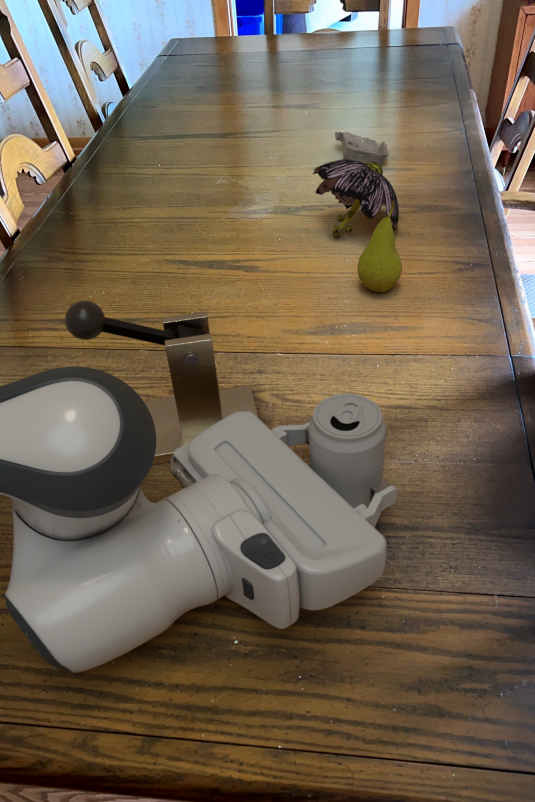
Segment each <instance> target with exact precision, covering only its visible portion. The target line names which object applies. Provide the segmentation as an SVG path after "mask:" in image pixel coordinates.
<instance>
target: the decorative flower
mask: <svg viewBox="0 0 535 802" xmlns="http://www.w3.org/2000/svg"><path fill="white" fill-rule="evenodd" d="M383 171H384V170H383V167H382V166H381V165H379V164H378V163H376V162H368V163H366V164H363V163H361V162H359V161H354V160H346V159H338V160H333V161H329V162H326V163H323V164H321V165H319V166H317V167H315V168H313V173H312V176H313V175H316V174H317V175H318V176H319V178H320V179H321V180H323V181H321V183H319V185H318V186H317V187H316V189H315V195H321V196H323V195H324V194H326V193H330V194H332V195H333V196H334V199H335V200H338V204H343V205H344V207H345V210H346V211H347V210H348V209H349V210H348V211H347V212H346V213H345V215H344V216H343V214H338V215H337V216H336V221H337V222H339V224H338V225H333V226H332V228H331V230H332V236H333V237H334V238H339V237H340V235H341V232H340V231H341V230H342V229H343V228H344V230H345V231H346V233H351V232H352V231H353V226H352V225H351V224H349V223H350V222H351V221H352V219H353V218H354V217H355V215H356V214H357V212H358V211H360V212H361V213H362V214H363V215H364V216H365V217H366V218H367V219H368V220H373V219H374V218H375V217H377V215H378V214H379V213H380V211H381V209H382V207H383V206H384V207H385V214H386V217H387V216H388V215H389V212H390V210H391V204H392V201H395V205H394V208H393V211H392V213H391V216H390V219H391V223H392V228H393V232H395V231H396V230H398V224H399V218H400V217H399V216H400V211H399V209H400V208H399V203H398V197H397V194H396V191H395V189H394V187H393V185H392V184H391V181H389V179H387V178H386V177H385V176H384V172H383ZM359 209H360V210H359Z"/></svg>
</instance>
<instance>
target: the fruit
mask: <svg viewBox="0 0 535 802" xmlns="http://www.w3.org/2000/svg"><path fill="white" fill-rule="evenodd" d="M394 205H395V201H392V204H391V210H390V212H389V215H388V216H387V215H386V216H385V217H383V218H382V219H381V220H380V221H379V222H378V224H377V226H376V227H375V229H374V230H373V232H372V235H371V237H370V239H369V240H368V243H367V245H366V247H365V248H364V250H363V251H362V252H361V254H360V256H359V258H358V262H357V267H356V268H357V269H356V270H357V276H358V278H359V281H360V282H361V283H362V284H363V285H364V286H365V287H366V288H367V289H369V290H370V291H372V292H374V293H386V292H388V291H390V290H391V289H392V288H393V287H394V286H395V284H397V283H398V281H399V280H400V278H401V276H402V272H403V263H402V260H401V257H400V255H399V252H398V251H397V247H396V239H395V233H394V232H395V231H393V228H392V223H391V219H390V216H391V213H392V211H393V208H394Z"/></svg>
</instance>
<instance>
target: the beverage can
mask: <svg viewBox="0 0 535 802" xmlns="http://www.w3.org/2000/svg"><path fill="white" fill-rule="evenodd" d="M309 421H310V422H309ZM309 421H308V422H309V467H310V468H311V469H313V470H314V471H315V472H316V473H317V474H318V475H319V476H320V477H321V478H322V479H323V480H324V481H325V482H326V483H327V484H328V485H329V486H331V487H332V488H333V489H334V490H335V491H336V492H337V493H338V494H339V495H340V496H341V497H342V498H343V499H344V500H345V501H346V502H347V503H349V504H350V505H351V506H352V507H353V508H355V507H357V506H359V505H361V504H364V505H365V506H366V508H368V506H369V504H370V503H371V502H370V501H369V496H370V495H371V494H370V486H372V485H373V484H375V483H379V482H380V480H382V479H384V478H383V477H384V462H385V449H386V435H387V425H386V421H385V420H384V417H383V414H382V410H381V408H380V407H379V405H378V404H377V403H376V402H375V401H374V400H372V399H370V398H368V397H367V396H363V395H360V394H356V393H338V394H334V395H330V396H328V397H326V398H324V399H322V400H321V401H320V402H319V403H318V404H317V405H316V406H315V407H314V410H313V413H312V416H311V418H310V420H309Z"/></svg>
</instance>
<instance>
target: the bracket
mask: <svg viewBox="0 0 535 802" xmlns="http://www.w3.org/2000/svg"><path fill="white" fill-rule="evenodd" d="M161 319H162V320H161V322H162V327H163V330H164V331H168V332H173V333H175V331H176V328H177V326H178V324H179V325H183V326H187V327H191V328H196V329H200V330H204V331H205V333H206V334H205V335H199V336H192V337H185V338H178V339H171V340H165V345H164V348H165V354H166V359H167V365H168V370H169V375H170V381H171V386H172V391H173V396H169V397H163V398H156V399H148V400H143V401H144V403H145V404H146V406H147V408H148V409H149V411H150V414H151V416H152V418H153V422H154V425H155V430H156V452H155V456H154V460H153V463H152V466H153V465H158V464H164V463H170V459H171V456H172V455H173V452H174V451H175V450H176V449H177V448H179V447H181V446H183V445H185V444H187V443H189V442H191V441H192V440H193V439H194V438H195V437H196V436H197V435H199V434H200V433H202V432H203V431H204V430H206V429H207V428H209V427H211V426H212V425H214V424H215V423H217V422H219V421H220V420H222V419H224V418H225V417H227V416H229V415H231V414H233V413H235V412H239V411H250V412H252V413H253V414H254V415H256V416H257V417H258V418H259V415H258V410H257V406H256V402H255V398H254V394H253V390H252V385H251V384H248V385H247V384H246V385H240V386H235V387H227V388H222V389H221V388H219V382H218V374H217V366H216V359H215V351H214V344H213V337H212V333H211V331H210V323H209V317H208V311H207V310H205V311H198V312H192V313H191V312H190V313H184V314H178V315H170V316H163V317H161Z"/></svg>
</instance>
